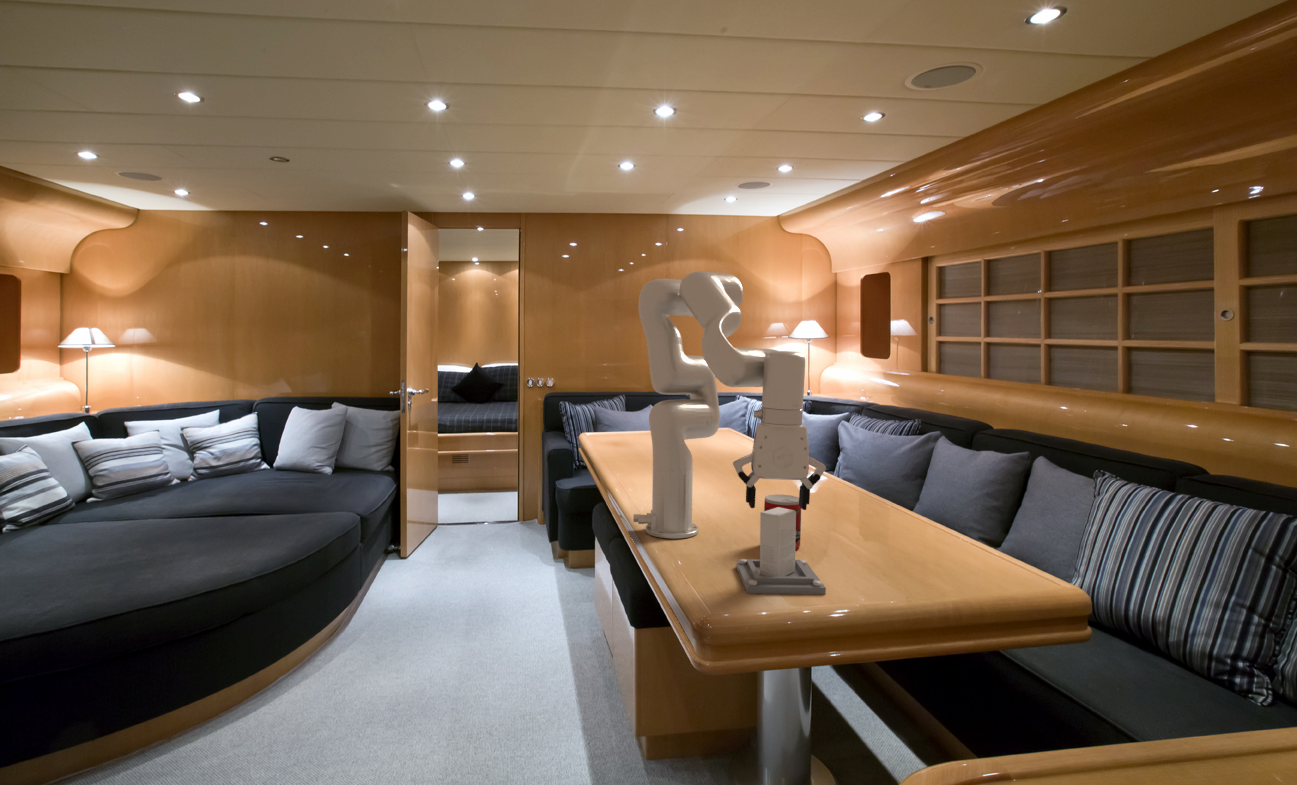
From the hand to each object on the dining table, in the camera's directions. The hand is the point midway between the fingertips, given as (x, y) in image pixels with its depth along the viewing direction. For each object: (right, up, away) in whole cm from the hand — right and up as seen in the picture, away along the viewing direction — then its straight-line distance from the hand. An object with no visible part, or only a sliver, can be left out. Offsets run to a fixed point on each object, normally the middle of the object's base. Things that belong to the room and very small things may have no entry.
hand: (777, 507), depth 121 cm
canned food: (+5, -13, +21) cm, 25 cm away
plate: (0, -14, 0) cm, 14 cm away
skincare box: (0, -13, 0) cm, 13 cm away
